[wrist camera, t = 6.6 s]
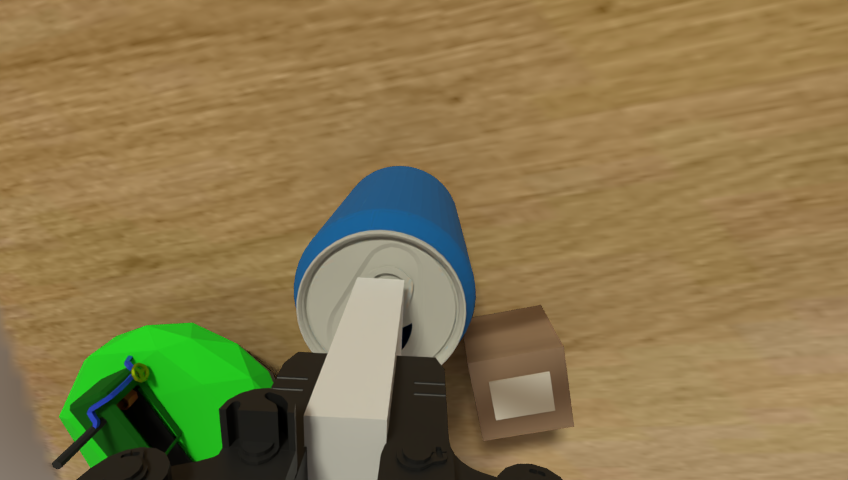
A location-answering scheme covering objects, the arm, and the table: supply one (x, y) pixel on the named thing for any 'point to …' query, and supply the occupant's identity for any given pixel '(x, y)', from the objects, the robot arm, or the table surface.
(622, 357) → the table surface
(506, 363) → the walnut block
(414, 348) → the beverage can
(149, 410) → the green toy boat
